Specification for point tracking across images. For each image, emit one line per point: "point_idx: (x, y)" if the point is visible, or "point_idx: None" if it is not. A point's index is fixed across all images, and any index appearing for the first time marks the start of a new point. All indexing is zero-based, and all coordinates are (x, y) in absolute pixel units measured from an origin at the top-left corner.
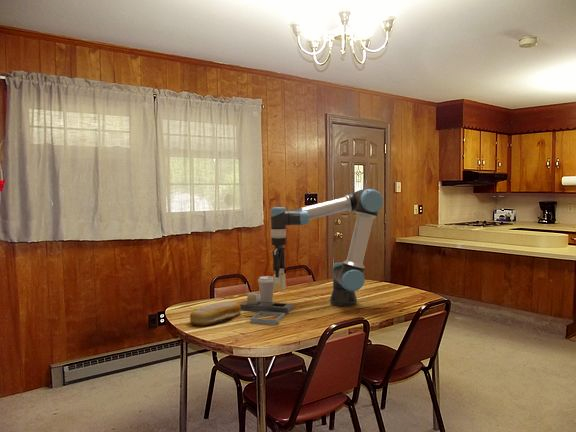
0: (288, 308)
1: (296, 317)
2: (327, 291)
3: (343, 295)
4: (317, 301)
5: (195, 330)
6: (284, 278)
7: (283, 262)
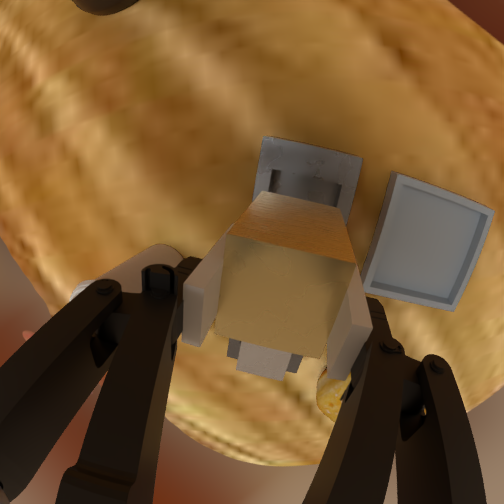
0: (347, 154)
1: (381, 114)
2: (2, 84)
3: None
4: (96, 63)
5: None
6: (279, 224)
7: (120, 341)
